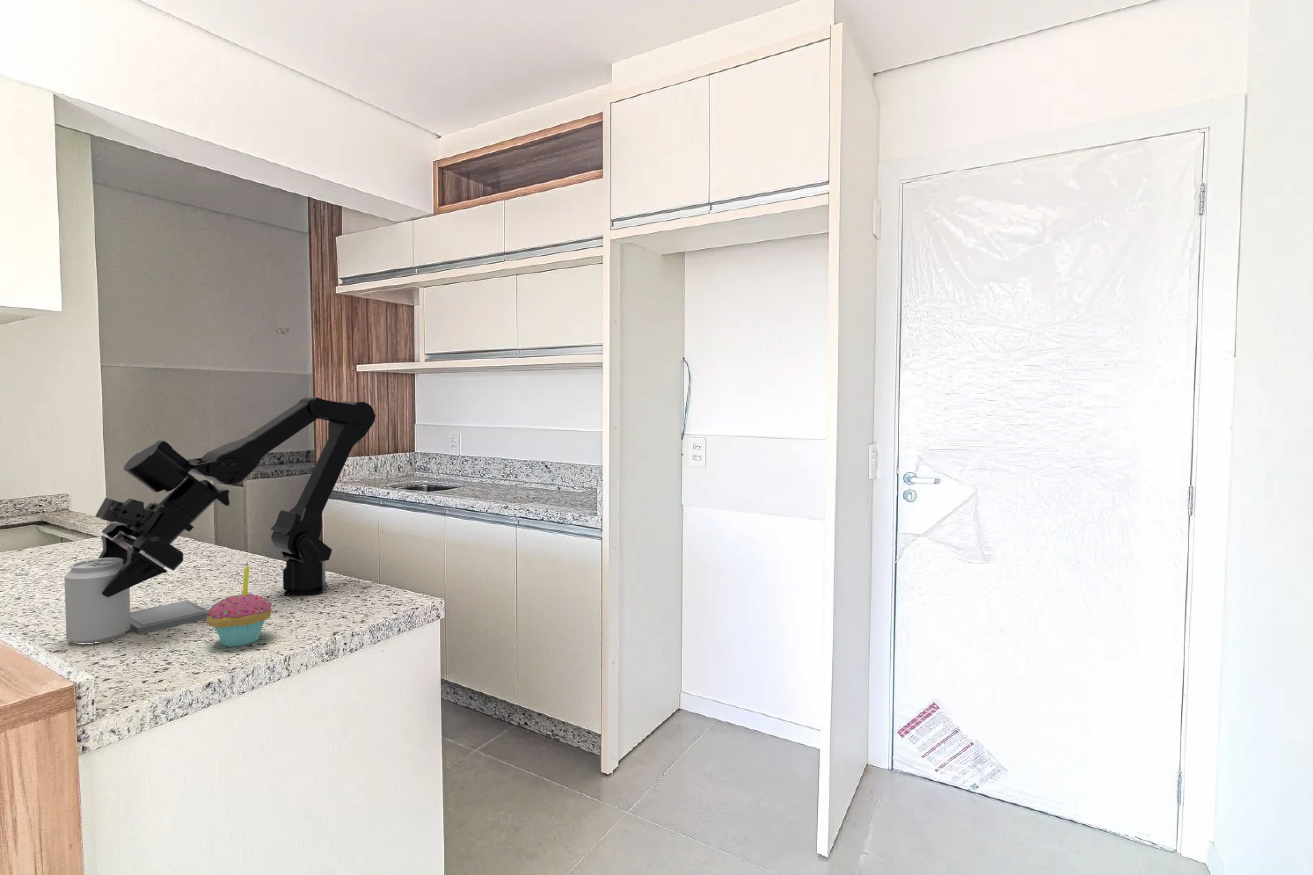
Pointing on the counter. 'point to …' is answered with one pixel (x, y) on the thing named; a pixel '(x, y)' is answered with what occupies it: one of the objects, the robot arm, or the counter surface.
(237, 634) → the cupcake
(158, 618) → the plate
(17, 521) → the counter surface
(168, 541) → the robot arm
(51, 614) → the counter surface
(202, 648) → the counter surface
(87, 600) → the can
